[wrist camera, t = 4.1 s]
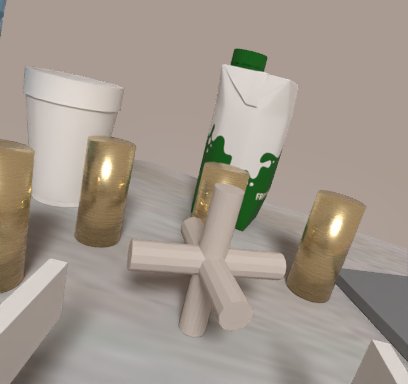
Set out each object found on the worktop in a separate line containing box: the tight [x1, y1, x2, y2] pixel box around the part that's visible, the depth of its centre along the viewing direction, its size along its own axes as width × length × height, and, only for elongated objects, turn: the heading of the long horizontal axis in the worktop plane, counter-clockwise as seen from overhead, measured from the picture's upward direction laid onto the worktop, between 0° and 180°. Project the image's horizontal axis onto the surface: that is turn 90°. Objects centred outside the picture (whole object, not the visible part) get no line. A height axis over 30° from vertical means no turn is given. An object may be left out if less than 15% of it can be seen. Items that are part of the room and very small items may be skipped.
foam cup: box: [23, 66, 124, 207], centre depth 37 cm, size 10×9×13 cm
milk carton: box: [191, 49, 299, 231], centre depth 42 cm, size 9×9×20 cm
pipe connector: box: [127, 183, 286, 337], centre depth 22 cm, size 10×10×10 cm
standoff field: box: [0, 135, 366, 303], centre depth 28 cm, size 12×30×9 cm, turn 101°
